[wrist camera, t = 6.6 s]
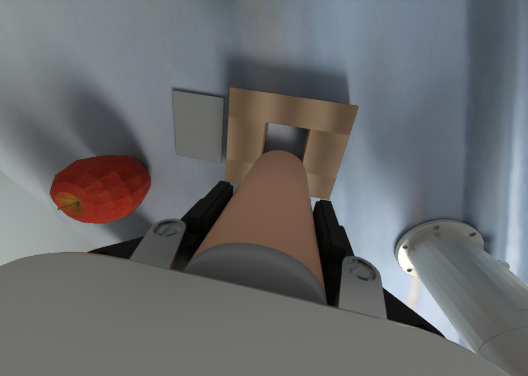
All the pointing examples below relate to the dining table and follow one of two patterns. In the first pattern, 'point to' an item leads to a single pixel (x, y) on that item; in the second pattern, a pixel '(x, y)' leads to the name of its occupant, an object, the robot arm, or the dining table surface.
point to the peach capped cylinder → (266, 233)
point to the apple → (100, 188)
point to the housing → (291, 114)
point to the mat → (198, 125)
